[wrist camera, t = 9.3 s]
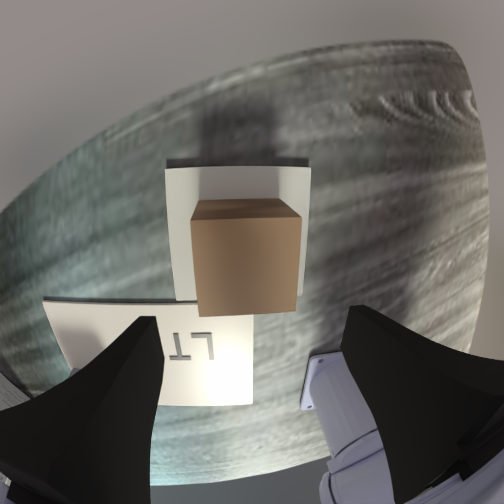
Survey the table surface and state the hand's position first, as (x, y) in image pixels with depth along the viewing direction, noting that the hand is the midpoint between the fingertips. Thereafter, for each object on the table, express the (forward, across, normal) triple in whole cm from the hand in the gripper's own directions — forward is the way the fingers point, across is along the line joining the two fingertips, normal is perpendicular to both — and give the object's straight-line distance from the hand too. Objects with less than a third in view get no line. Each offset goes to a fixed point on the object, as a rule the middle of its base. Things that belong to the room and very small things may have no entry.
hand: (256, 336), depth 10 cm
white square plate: (+9, 0, -1) cm, 9 cm away
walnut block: (+9, 0, -1) cm, 9 cm away
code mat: (+9, +8, +10) cm, 16 cm away
